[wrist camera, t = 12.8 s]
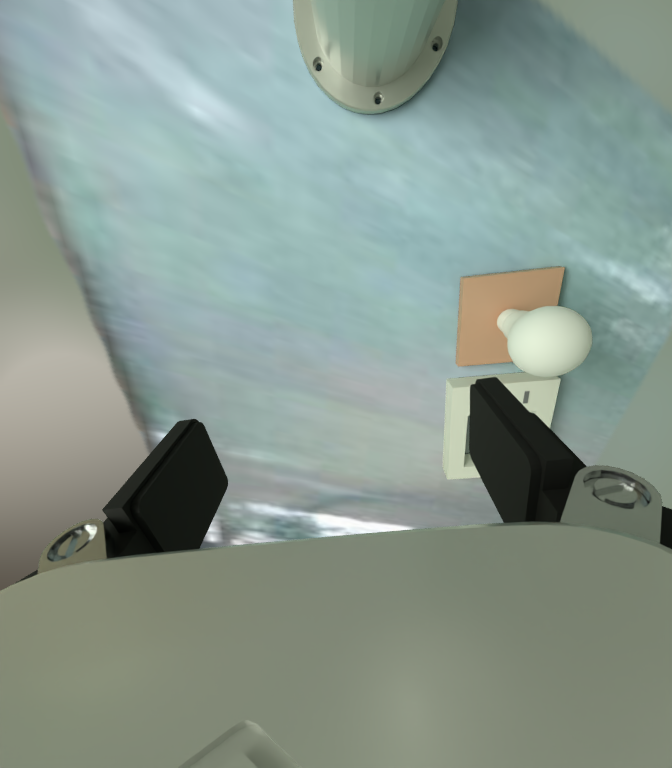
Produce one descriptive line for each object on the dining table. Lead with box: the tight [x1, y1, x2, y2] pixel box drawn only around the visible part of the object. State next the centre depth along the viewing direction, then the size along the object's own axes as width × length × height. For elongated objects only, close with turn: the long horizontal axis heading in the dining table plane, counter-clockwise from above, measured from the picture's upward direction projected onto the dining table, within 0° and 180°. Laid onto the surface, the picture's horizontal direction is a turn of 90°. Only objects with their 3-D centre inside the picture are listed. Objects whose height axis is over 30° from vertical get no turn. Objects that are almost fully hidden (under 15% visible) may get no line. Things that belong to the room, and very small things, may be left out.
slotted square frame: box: [443, 372, 561, 479], centre depth 41 cm, size 14×12×3 cm
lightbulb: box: [497, 306, 592, 377], centre depth 30 cm, size 6×6×11 cm
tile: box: [456, 266, 565, 366], centre depth 35 cm, size 10×10×1 cm
